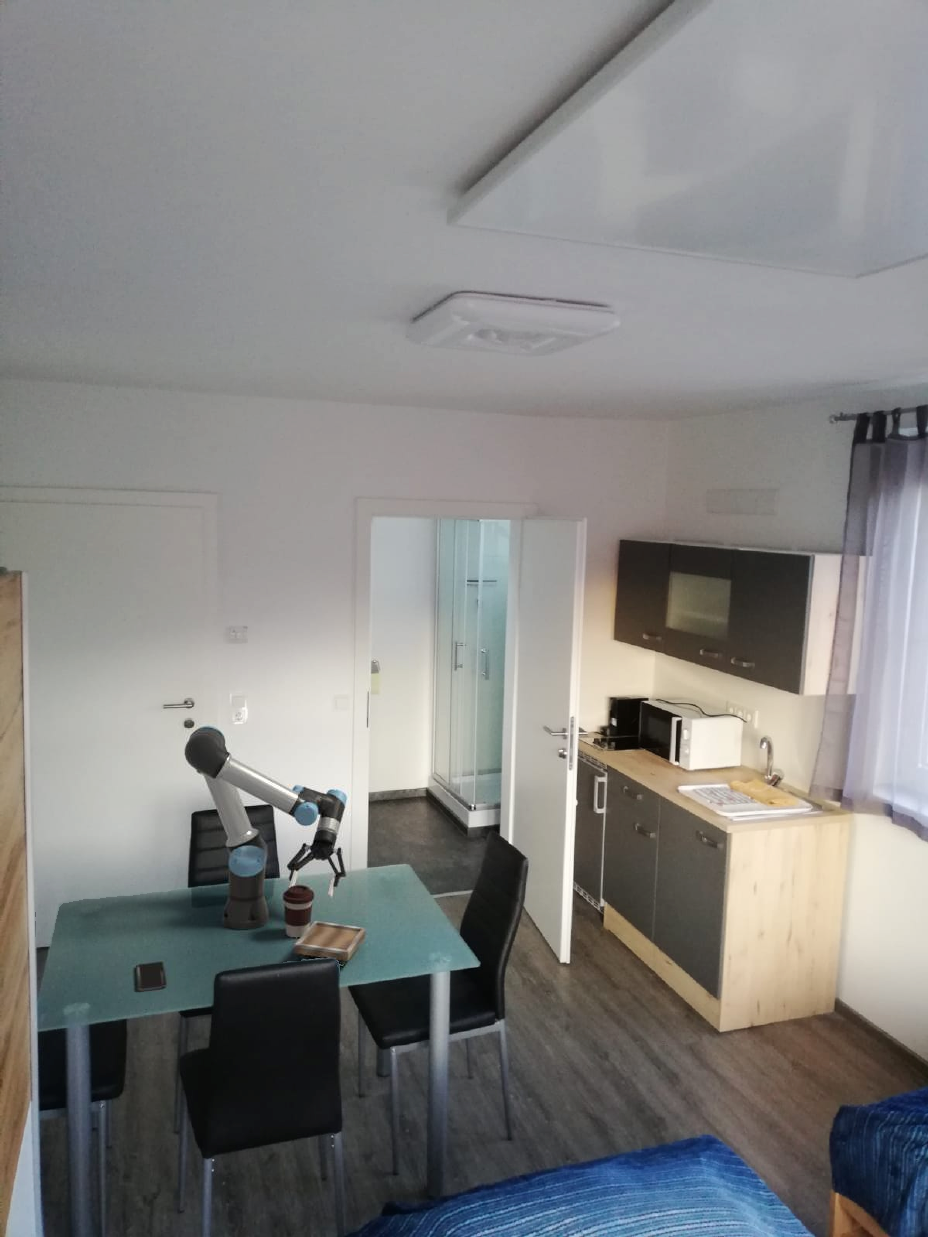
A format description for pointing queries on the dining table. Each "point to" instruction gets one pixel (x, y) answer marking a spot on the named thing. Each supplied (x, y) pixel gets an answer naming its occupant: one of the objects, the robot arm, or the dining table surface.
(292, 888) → the coffee cup
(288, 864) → the robot arm
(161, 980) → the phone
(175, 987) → the dining table surface
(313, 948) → the shallow square tray
